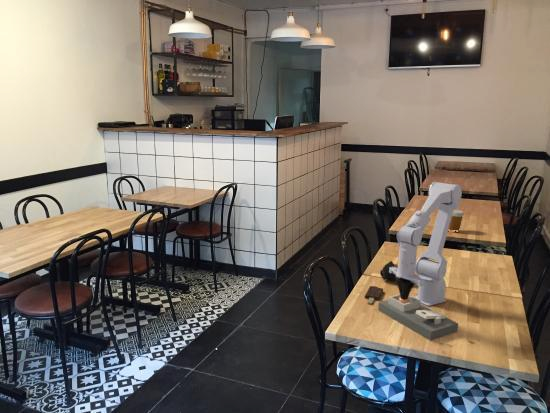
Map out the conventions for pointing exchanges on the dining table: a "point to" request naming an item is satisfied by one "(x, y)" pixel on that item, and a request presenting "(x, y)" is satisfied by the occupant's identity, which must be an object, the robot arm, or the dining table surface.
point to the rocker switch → (430, 314)
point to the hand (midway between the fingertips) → (404, 298)
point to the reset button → (404, 300)
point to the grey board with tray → (417, 318)
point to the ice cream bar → (373, 294)
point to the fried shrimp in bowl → (386, 274)
